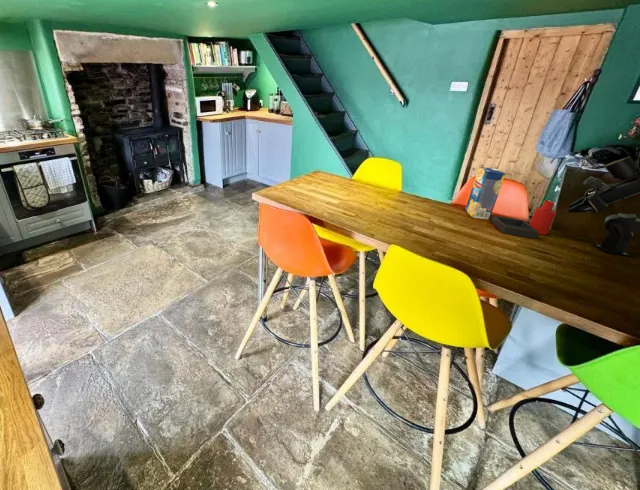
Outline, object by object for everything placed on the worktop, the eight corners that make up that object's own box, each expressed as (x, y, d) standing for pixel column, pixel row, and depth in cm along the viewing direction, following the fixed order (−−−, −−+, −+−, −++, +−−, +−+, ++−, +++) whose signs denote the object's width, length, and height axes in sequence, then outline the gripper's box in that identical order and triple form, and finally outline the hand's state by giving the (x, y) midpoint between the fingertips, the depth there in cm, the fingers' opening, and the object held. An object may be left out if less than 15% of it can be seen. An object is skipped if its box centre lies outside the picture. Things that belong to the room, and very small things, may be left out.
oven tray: (535, 238, 121) (538, 231, 120) (503, 233, 125) (505, 226, 124) (520, 226, 133) (523, 220, 132) (491, 222, 136) (493, 215, 135)
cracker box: (480, 212, 149) (495, 168, 141) (489, 219, 139) (505, 173, 131) (465, 209, 151) (478, 166, 143) (472, 217, 141) (487, 171, 133)
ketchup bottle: (550, 235, 125) (563, 205, 120) (531, 232, 127) (544, 202, 122) (542, 230, 131) (554, 200, 126) (524, 227, 132) (536, 198, 128)
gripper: (606, 168, 117) (557, 188, 128) (608, 174, 105) (553, 196, 116) (627, 192, 114) (574, 211, 126) (631, 201, 102) (572, 221, 114)
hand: (568, 209), depth 120 cm, fingers open, 9 cm apart
